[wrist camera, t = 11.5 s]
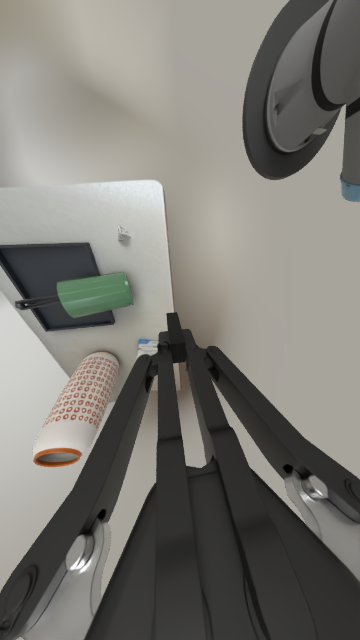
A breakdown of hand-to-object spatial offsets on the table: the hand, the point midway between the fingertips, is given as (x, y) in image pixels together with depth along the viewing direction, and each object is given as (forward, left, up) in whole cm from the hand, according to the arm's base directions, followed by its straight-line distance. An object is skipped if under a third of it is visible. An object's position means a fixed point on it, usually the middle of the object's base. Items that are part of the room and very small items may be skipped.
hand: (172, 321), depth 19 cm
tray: (+11, -26, -25) cm, 37 cm away
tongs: (+9, -22, -20) cm, 31 cm away
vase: (+37, -15, -25) cm, 47 cm away
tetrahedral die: (-8, -13, -25) cm, 29 cm away
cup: (+4, -9, -21) cm, 23 cm away
